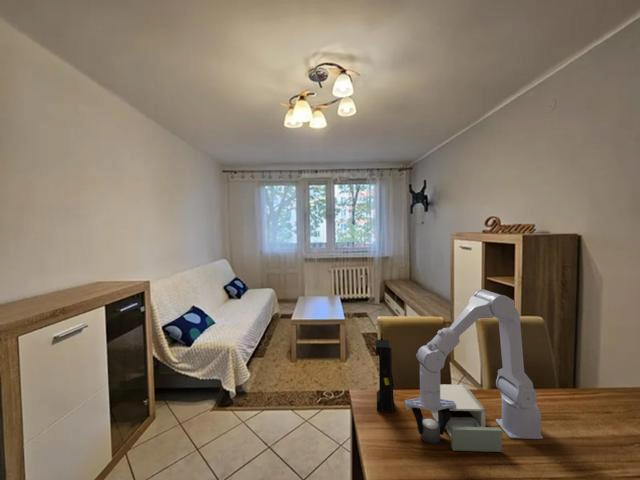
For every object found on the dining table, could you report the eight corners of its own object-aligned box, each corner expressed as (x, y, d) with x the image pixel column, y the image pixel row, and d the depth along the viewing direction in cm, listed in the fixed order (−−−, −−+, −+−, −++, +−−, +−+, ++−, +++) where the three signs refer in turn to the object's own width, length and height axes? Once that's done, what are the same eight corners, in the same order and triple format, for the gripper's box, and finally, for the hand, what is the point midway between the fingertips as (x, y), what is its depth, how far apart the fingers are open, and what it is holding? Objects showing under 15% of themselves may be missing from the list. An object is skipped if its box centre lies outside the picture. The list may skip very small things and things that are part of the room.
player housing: (465, 401, 101) (464, 384, 101) (485, 428, 87) (485, 409, 87) (425, 400, 102) (425, 384, 102) (439, 427, 88) (439, 408, 88)
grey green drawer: (477, 419, 91) (477, 401, 91) (501, 451, 78) (501, 430, 78) (436, 418, 92) (436, 400, 92) (452, 450, 79) (452, 429, 79)
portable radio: (395, 415, 95) (394, 341, 94) (376, 413, 96) (375, 340, 95) (393, 401, 102) (392, 333, 102) (376, 399, 104) (375, 332, 103)
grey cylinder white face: (436, 430, 87) (436, 417, 87) (443, 443, 82) (443, 430, 82) (418, 430, 87) (418, 417, 87) (424, 443, 82) (423, 429, 82)
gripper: (408, 395, 81) (409, 441, 81) (460, 395, 80) (461, 442, 80) (403, 381, 88) (403, 424, 88) (450, 382, 87) (451, 425, 87)
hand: (430, 432), depth 84 cm, fingers closed on grey cylinder white face, 5 cm apart
